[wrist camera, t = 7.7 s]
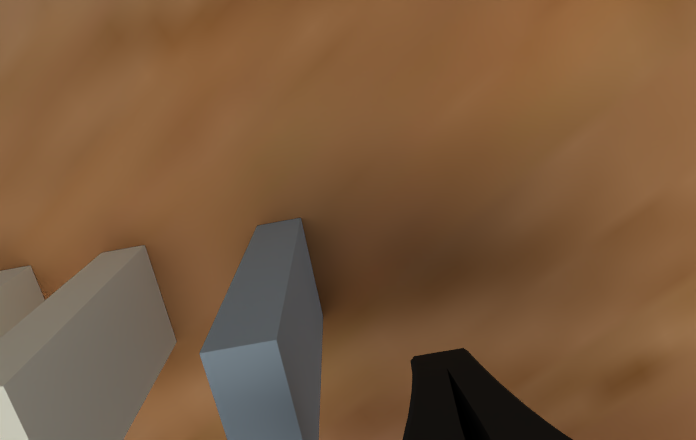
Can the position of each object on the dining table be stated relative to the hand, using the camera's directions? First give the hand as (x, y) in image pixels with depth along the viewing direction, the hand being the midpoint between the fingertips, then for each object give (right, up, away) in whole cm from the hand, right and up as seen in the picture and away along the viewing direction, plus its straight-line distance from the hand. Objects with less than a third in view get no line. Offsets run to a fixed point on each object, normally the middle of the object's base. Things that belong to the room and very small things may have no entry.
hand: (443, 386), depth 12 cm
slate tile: (-5, +2, +8) cm, 10 cm away
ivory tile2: (-11, +1, +9) cm, 14 cm away
